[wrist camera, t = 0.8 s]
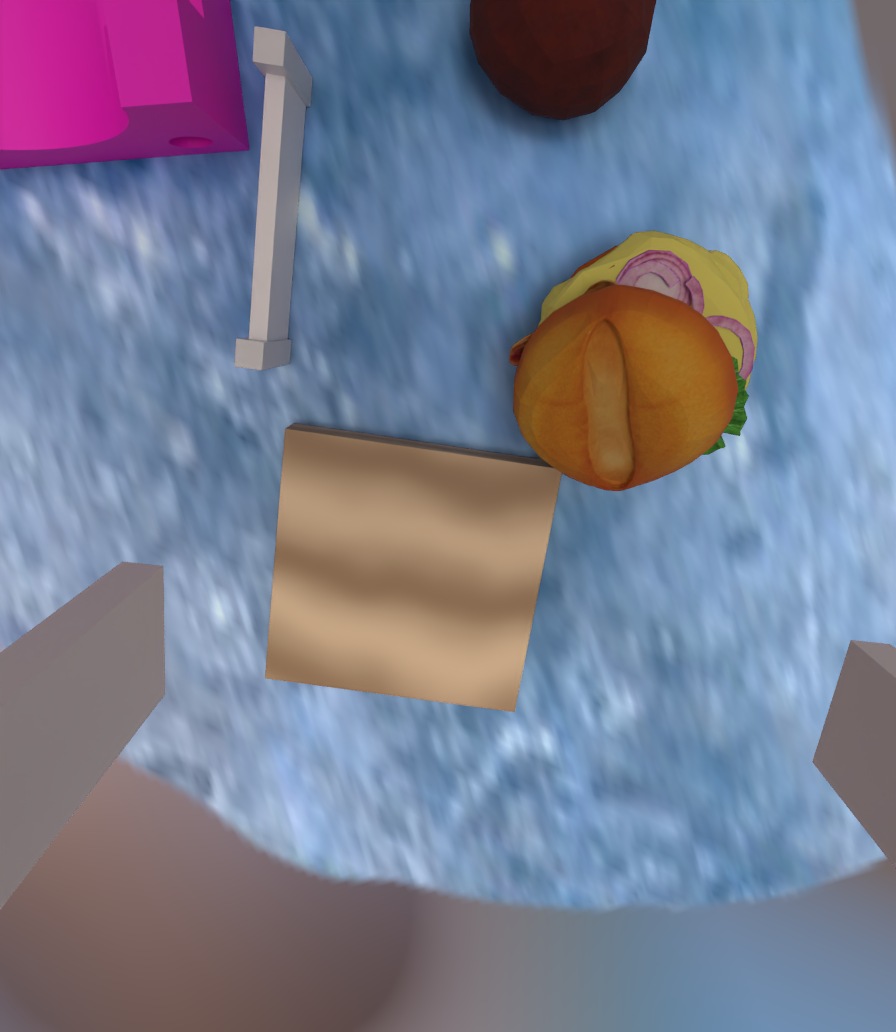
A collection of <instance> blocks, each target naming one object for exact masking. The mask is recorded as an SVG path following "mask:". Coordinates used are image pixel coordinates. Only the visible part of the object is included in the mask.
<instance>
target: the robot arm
mask: <svg viewBox="0 0 896 1032" xmlns="http://www.w3.org/2000/svg"><path fill="white" fill-rule="evenodd" d="M164 695H165V654H164V584H163V566H158V565H149V564H139V563H130V562H121V563H120V564H119V565H117V566H116V567H115V568H113V569H112V570H111V571H109V572H108V573H107V574H105V575H104V576H103V577H101V578H100V579H99V580H97V581H96V582H95V583H93V584H92V585H91V586H89V587H88V588H86V589H85V590H84V591H82V592H81V593H80V594H78V595H77V596H76V597H74V598H73V599H72V600H70V601H69V602H68V603H66V604H65V605H64V606H62V607H61V608H60V609H58V610H57V611H56V612H54V613H53V614H52V615H50V616H49V617H48V618H46V619H45V620H44V621H42V622H41V623H40V624H38V625H37V626H36V627H34V628H33V629H32V630H30V631H29V632H28V633H26V634H25V635H24V636H22V637H21V638H20V639H18V640H17V641H16V642H14V643H13V644H12V645H10V646H9V647H8V648H6V649H5V650H4V651H2V652H1V653H0V909H1V908H2V907H3V905H4V904H5V903H6V901H7V900H8V899H9V898H10V896H11V895H12V893H13V892H14V891H15V890H16V888H17V887H18V886H19V885H20V883H21V882H22V881H23V879H24V878H25V877H26V875H27V874H28V873H29V872H30V870H31V869H32V867H33V866H34V865H35V864H36V862H37V861H38V860H39V858H40V857H41V856H42V854H43V853H44V852H45V851H46V849H47V848H48V847H49V845H50V844H51V843H52V841H53V840H54V839H55V838H56V836H57V835H58V834H59V832H60V831H61V830H62V828H63V827H64V826H65V824H66V823H67V822H68V821H69V819H70V818H71V816H72V815H73V814H74V812H75V811H76V810H77V809H78V807H79V806H80V805H81V803H82V802H83V801H84V800H85V798H86V797H87V796H88V794H89V793H90V792H91V790H92V789H93V788H94V787H95V785H96V784H97V783H98V781H99V780H100V779H101V777H102V776H103V775H104V773H105V772H106V771H107V770H108V768H109V767H110V766H111V764H112V763H113V762H114V760H115V759H116V758H117V757H118V755H119V754H120V753H121V751H122V750H123V749H124V747H125V746H126V745H127V743H128V742H129V741H130V740H131V738H132V737H133V736H134V734H135V733H136V732H137V730H138V729H139V728H140V726H141V725H142V724H143V723H144V721H145V720H146V719H147V717H148V716H149V715H150V713H151V712H152V711H153V709H154V708H155V707H156V706H157V704H158V703H159V702H160V700H161V699H162V698H163V696H164ZM813 763H814V765H815V766H816V767H817V768H818V770H819V771H820V772H821V774H822V775H823V776H824V777H825V779H826V780H827V781H828V783H829V784H830V785H831V786H832V788H833V789H834V790H835V791H836V793H837V794H838V795H839V797H840V798H841V799H842V800H843V802H844V803H845V804H846V806H847V807H848V808H849V809H850V811H851V812H852V813H853V815H854V816H855V817H856V818H857V820H858V821H859V822H860V823H861V825H862V826H863V827H864V829H865V830H866V831H867V832H868V834H869V835H870V836H871V838H872V839H873V840H874V841H875V843H876V844H877V845H878V846H879V848H880V849H881V850H882V852H883V853H884V854H885V855H886V857H887V858H888V859H889V861H890V862H891V863H892V864H893V866H894V867H895V868H896V648H894V647H893V646H892V645H890V644H883V643H873V642H864V641H855V640H851V641H850V644H849V647H848V651H847V654H846V657H845V660H844V663H843V666H842V670H841V673H840V676H839V679H838V682H837V685H836V689H835V692H834V695H833V698H832V701H831V705H830V708H829V711H828V714H827V717H826V720H825V724H824V727H823V730H822V733H821V736H820V739H819V743H818V746H817V749H816V752H815V755H814V759H813Z"/></svg>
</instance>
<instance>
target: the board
mask: <svg viewBox="0 0 896 1032" xmlns="http://www.w3.org/2000/svg"><path fill="white" fill-rule="evenodd" d="M561 474H562V473H561V472H560V471H558V470H557V469H555V468H554V467H552V466H551V465H550V464H548V463H547V462H546V461H544V460H543V459H536V458H529V457H522V456H515V455H509V454H502V453H495V452H488V451H481V450H475V449H468V448H461V447H454V446H447V445H441V444H434V443H427V442H420V441H414V440H407V439H400V438H393V437H386V436H380V435H373V434H366V433H359V432H352V431H346V430H339V429H332V428H325V427H318V426H312V425H305V424H298V423H294V424H292V425H290V426H289V427H287V428H286V429H285V438H284V451H283V463H282V475H281V488H280V500H279V512H278V525H277V537H276V549H275V562H274V574H273V586H272V599H271V611H270V623H269V635H268V648H267V660H266V672H265V678H267V679H275V680H282V681H289V682H297V683H304V684H312V685H319V686H326V687H334V688H341V689H349V690H356V691H363V692H371V693H378V694H386V695H393V696H400V697H408V698H415V699H422V700H430V701H437V702H445V703H452V704H459V705H467V706H474V707H482V708H489V709H496V710H504V711H511V712H515V707H516V702H517V697H518V692H519V687H520V682H521V677H522V672H523V667H524V662H525V657H526V652H527V646H528V641H529V636H530V631H531V626H532V621H533V616H534V611H535V606H536V601H537V596H538V591H539V586H540V581H541V576H542V571H543V565H544V560H545V555H546V550H547V545H548V540H549V535H550V530H551V525H552V520H553V515H554V510H555V505H556V500H557V495H558V490H559V484H560V479H561Z"/></svg>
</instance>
